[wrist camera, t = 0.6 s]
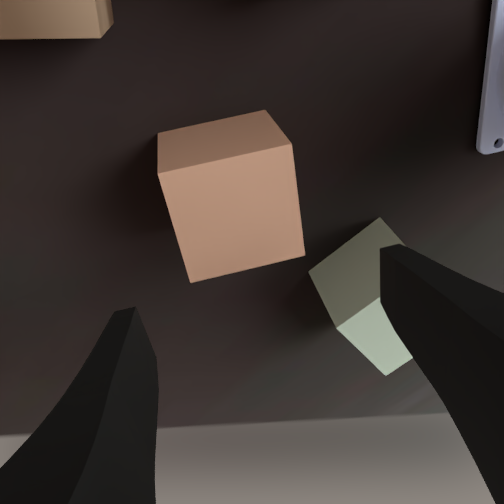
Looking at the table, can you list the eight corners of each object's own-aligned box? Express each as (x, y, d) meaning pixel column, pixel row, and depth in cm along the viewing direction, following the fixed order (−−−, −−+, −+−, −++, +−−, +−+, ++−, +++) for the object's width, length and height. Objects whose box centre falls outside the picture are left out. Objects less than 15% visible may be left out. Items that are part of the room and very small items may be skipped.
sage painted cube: (379, 216, 25) (423, 265, 21) (419, 268, 27) (466, 322, 23) (307, 270, 26) (336, 328, 22) (352, 316, 28) (385, 375, 24)
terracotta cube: (265, 109, 21) (291, 143, 17) (279, 205, 23) (305, 255, 19) (157, 132, 20) (157, 173, 16) (184, 227, 23) (190, 282, 19)
